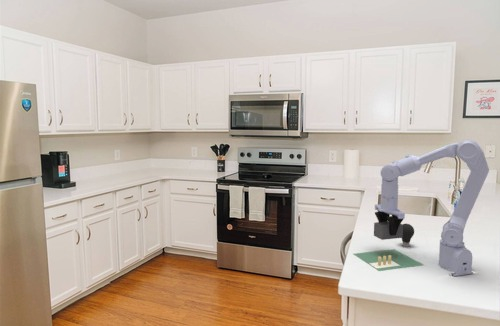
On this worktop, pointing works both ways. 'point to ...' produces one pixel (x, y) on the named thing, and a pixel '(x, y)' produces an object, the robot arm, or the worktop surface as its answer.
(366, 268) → the worktop surface
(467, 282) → the worktop surface
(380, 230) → the plug housing
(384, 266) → the header board
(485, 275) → the worktop surface
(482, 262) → the worktop surface
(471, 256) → the robot arm
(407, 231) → the light bulb
